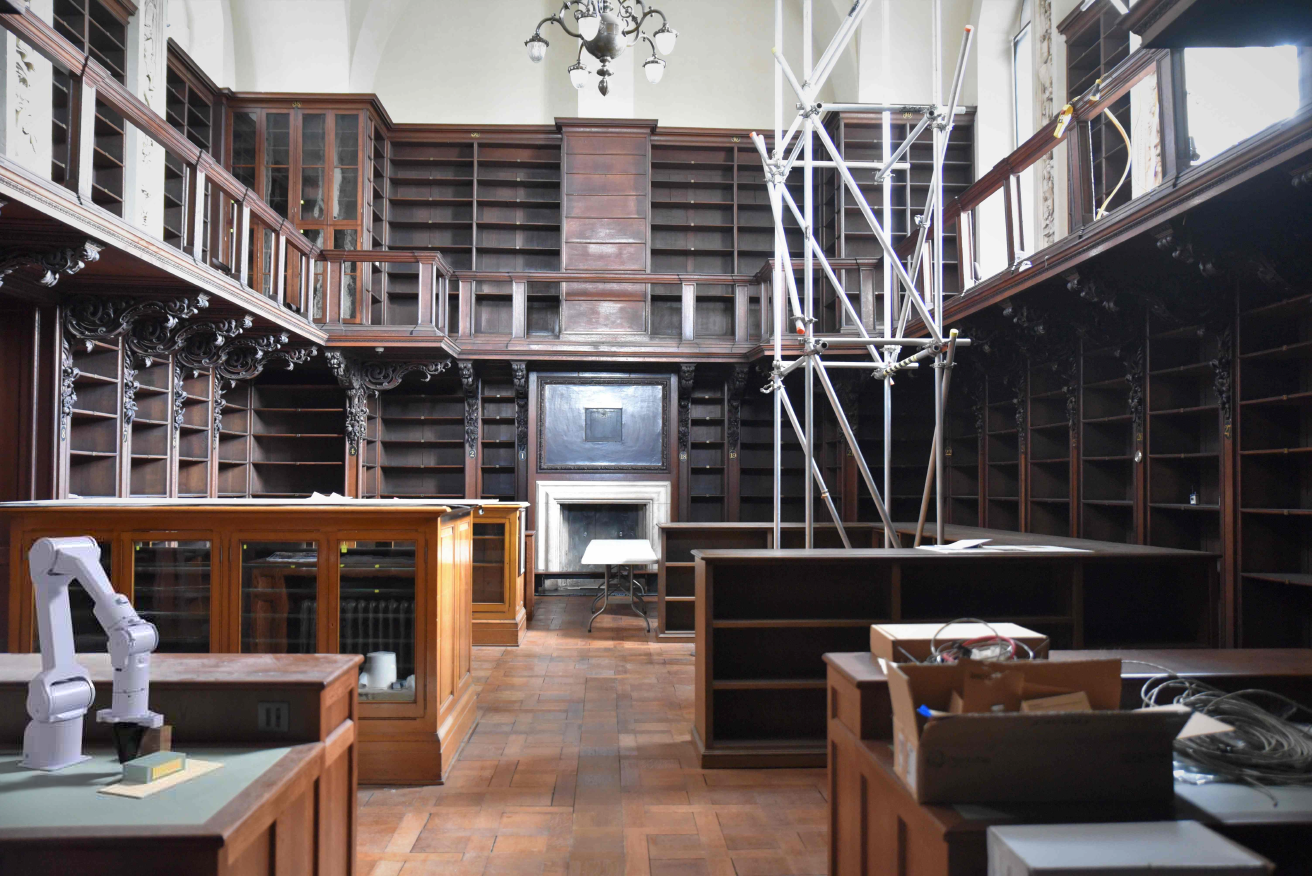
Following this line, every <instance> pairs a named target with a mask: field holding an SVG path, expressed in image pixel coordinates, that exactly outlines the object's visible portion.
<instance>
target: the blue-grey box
mask: <svg viewBox="0 0 1312 876" xmlns="http://www.w3.org/2000/svg"><path fill="white" fill-rule="evenodd" d="M186 757H187V753H185V752H184V753H183V752H175V751H171V750H170V751H163V750H162V751H159V752H156V753H153V754H150V755H147V756H144V757H141V758H140V757H138V758H136V759H135V760H132V761H129V762H126V763H123V765H122V770H121V772H122V773H121V774H122V775H121V781H122V782H123V781H130V782H137V783H144V784H148V783H151V782H153V781H156V780H159V779H162V778H164V777H167V776H170V775H172V774H175V773H178V772H180V771H183V770H185V762H186V759H187V758H186Z"/></svg>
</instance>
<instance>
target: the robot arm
mask: <svg viewBox="0 0 1312 876" xmlns="http://www.w3.org/2000/svg"><path fill="white" fill-rule="evenodd" d="M101 553H102V552H101V548H100V547H99V545H98V543H97V540H96V539H95V538H94V537H93V536H90V535H82V536H69V537H67V536H65V537H51V538H50V537H41V538H39V539H37V540H36V541H35V542H34V544H33V546H32V547H31V549H30V550H29V551H28V553H27V554H28V561H29V562H28V563H29V573H30V580H31V582H33V589H34V597H35V599H34V600H35V607H36V608H35V609H36V616H37V617H36V618H37V626H38V627H37V628H38V636H39V646H40V656H41V657H40V658H41V665H42V670H41V671H40V672H39V673H38V674H37V675H36V676H35V677H33V679H32V680H30V682H28V684H27V685H28V696H27V700H26V710H27V713H28V715H29V716H30V717H31V719H32V720H31V721H29V723H28V724H27V725H26V727H25V730H24V732H23V733H24V734H23V735H24V736H23V748H22V762H20V763H18V764H17V767H20V768H26V769H27V768H28V769H34V770H41V771H46V772H53V771H57V770H60V769H64V768H67V767H70V766H74V765H76V764H80V763H83V762H86V761H90V760H92V756H91V755H82V739H83V724H84V723H83V720H84V715H85V714H87V713H88V708H90V707H92V705H93V702H94V700H95V696H96V689H95V685H94V684H93V682H92V680H91V677H90V671H89V669H86V668H85V667H84V666H81V665H79V664H78V663H77V660H76V652H75V643H74V633H73V624H72V615H71V607H70V597H69V588H68V587H69V584H70V583H71V582H72V581H73V579H74V580H75V579H76V580H78V583H80V584H81V586H82V587H83V588H84V589H85V591H86V592H87V593H88V595H89V596H90V597H91V599H92V600H93V601H94V603H95V605H94V608H93V614H94V615H95V617H96V618H97V620H98V622H99V623H100V625H101V626H102V628H103V629H104V631H105V633H106V635H107V636H108V637H109V639H108V641H107V642H106V648H107V651H108V654H109V656H110V664H111V668H113V680H112V681H113V683H112V684H113V685H112V699H111V701H112V702H111V704H112V705H111V708H105V709H100V710H97V711H96V719H95V720H96V722H98V723H103V722H107V723H114V724H113V726H109V727H108V728H107V730H106V732H107V734H108V735H109V736H110V738H111V740H112V742H113V744H114V746H115V747H114V748H115V749H116V754H117V757H118V762H119V764H120V765H122V766H123V763H126V762H129V761H132V760H135V759H137V756H138V752H139V750H140V748H141V742H142V740H143V738H144V736H145V734H146V733H147V731H148V730H149V728H156V727H159V726H162V725H164V715H163V714H159V713H156V712H154V711H152V710H149V709H148V708H149V692H150V691H149V689H150V688H149V687H150V685H149V684H150V668H151V665H150V664H151V653H153V651H154V650H156V648H157V646H158V643H159V632H158V630H157V628H156V626H155V624H153V623H151V622H148V621H146V620H145V619H141V617H140V616H139V615H138V613H137V612H136V610H135V609H134V606H132V604H131V602H130V600H129V599H128V597H127V596H126V595H125V594H121V593H116V592H115V590H114V588H113V586H112V584H111V582H110V580H109V578H108V576H107V574H106V572H105V570H104V568H103V566H102V564H101V563H100V559H101ZM65 680H66V681H65ZM59 681H64V682H59ZM55 682H59V683H55ZM54 683H55V684H54Z"/></svg>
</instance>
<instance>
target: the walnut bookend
mask: <svg viewBox="0 0 1312 876" xmlns="http://www.w3.org/2000/svg"><path fill="white" fill-rule="evenodd" d="M171 744H172V726H171V725H166V724H163V725H162V726H159V727H156V728H149V730H148V731H147V733H146V734H145V736H144V738H143V740H142V742H141V744H140V754H139V755H140V757H139V758H141V757H144V756H147V755H150V754H153V753H156V752H159V751H162V750H163V751H170V752H171V748H172V747H171V746H172V745H171Z"/></svg>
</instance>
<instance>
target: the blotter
mask: <svg viewBox="0 0 1312 876" xmlns="http://www.w3.org/2000/svg"><path fill="white" fill-rule="evenodd" d="M226 766H227V763H223V762H221V763H220V762H213V761H206V760H200V759H199V760H198V759H191V758H186V762H185V770H183V771H180V772H178V773H175V774H172V775H170V776H167V777H164V778H162V779H159V780H156V781H153V782H151V783H148V784H144V783H137V782H130V781H123V780H122V781H121V782H118V783H115V784H112V785H108V786H107V787H103V788H100V789H98V790H97V791H98V793H101V794H102V793H104V794H108V795H116V796H121V797H127V798H128V797H130V798H136V799H141V800H142V799H144V798H146V797H148V796H151V795H154V794H156V793H160V792H161V791H164V790H167V789H169V788H172V787H175V786H177V785H180V784H182V783H185V782H187V781H190V780H192V779H195V778H198V777H200V776H204V775H205V774H208V773H210V772H213V771H216V770H219V769H221V768H224V767H226Z"/></svg>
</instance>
